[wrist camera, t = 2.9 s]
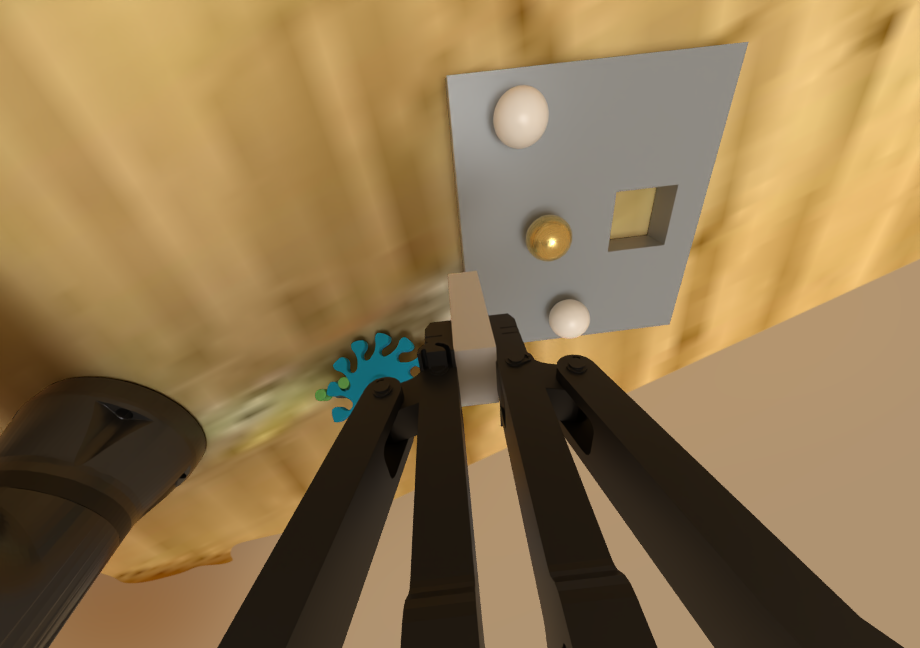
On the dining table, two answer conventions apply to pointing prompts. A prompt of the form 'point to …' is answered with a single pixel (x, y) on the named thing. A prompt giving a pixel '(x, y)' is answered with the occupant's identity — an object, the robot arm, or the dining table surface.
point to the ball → (548, 238)
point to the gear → (367, 372)
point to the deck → (590, 181)
